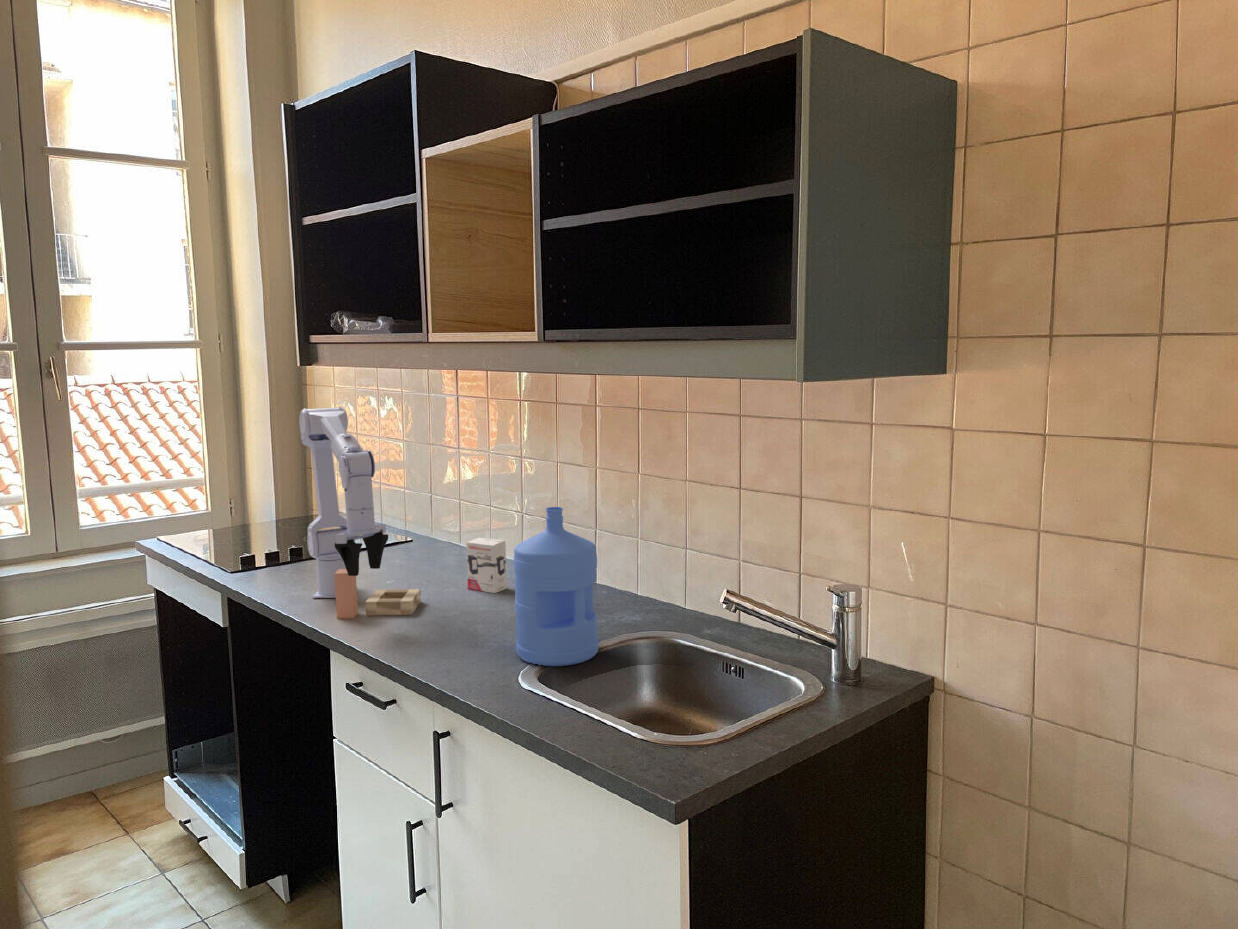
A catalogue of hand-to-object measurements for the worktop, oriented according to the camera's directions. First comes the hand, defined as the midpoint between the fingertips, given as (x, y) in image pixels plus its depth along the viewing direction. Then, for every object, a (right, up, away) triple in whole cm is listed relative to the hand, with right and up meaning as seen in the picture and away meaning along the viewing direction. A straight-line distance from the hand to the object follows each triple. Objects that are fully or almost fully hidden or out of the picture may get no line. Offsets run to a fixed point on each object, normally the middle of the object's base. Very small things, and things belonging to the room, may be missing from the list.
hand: (364, 572), depth 197 cm
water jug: (+43, -13, -21) cm, 49 cm away
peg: (-5, -10, +5) cm, 12 cm away
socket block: (+4, -9, +10) cm, 14 cm away
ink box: (+23, -7, +25) cm, 35 cm away
